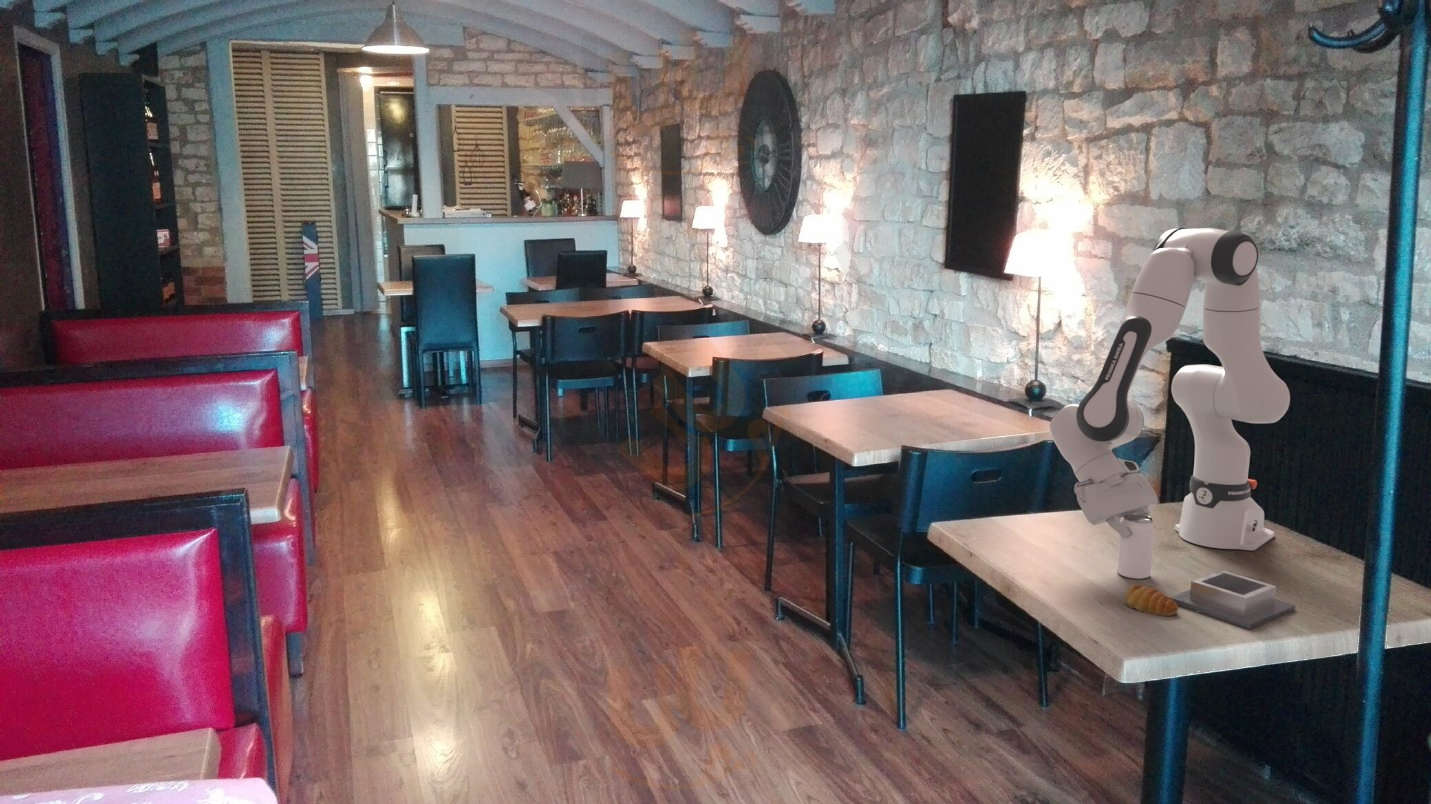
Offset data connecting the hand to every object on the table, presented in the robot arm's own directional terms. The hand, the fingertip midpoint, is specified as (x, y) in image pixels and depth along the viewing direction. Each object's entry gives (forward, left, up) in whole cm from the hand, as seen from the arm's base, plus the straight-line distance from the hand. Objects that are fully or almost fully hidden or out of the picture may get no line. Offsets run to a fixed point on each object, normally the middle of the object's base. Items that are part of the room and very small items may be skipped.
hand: (1139, 533), depth 227 cm
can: (0, -1, -9) cm, 9 cm away
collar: (0, +20, -9) cm, 22 cm away
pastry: (+13, +12, -9) cm, 20 cm away
